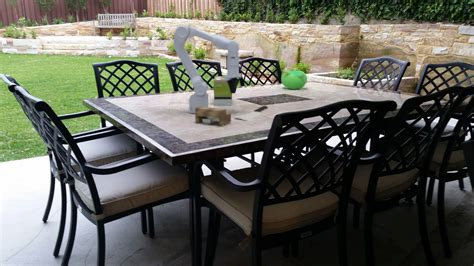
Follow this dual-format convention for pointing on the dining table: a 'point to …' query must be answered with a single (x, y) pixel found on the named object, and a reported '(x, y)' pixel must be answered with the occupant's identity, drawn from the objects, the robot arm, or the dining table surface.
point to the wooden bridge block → (212, 115)
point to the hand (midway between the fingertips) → (233, 93)
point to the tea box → (222, 92)
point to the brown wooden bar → (210, 120)
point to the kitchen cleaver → (252, 114)
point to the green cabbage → (294, 79)
